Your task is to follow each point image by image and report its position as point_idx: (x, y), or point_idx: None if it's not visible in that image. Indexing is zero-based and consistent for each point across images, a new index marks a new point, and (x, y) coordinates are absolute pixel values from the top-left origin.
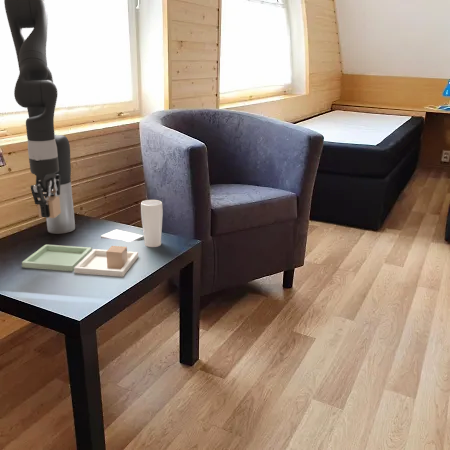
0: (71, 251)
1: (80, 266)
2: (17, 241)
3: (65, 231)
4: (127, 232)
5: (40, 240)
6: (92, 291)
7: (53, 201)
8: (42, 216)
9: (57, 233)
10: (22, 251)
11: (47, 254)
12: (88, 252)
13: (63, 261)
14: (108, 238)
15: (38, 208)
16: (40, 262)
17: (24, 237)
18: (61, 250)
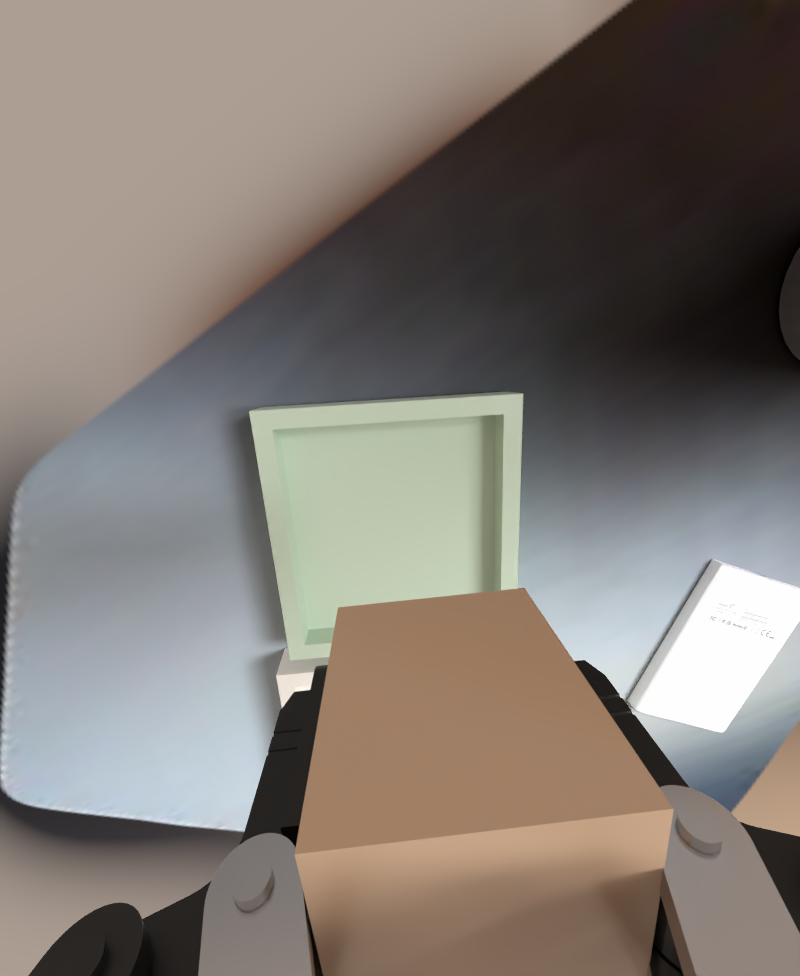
0: (494, 541)
1: (309, 681)
2: (647, 101)
3: (798, 349)
4: (765, 659)
5: (670, 256)
6: (190, 754)
7: None
8: (318, 672)
9: (780, 305)
10: (492, 247)
11: (441, 442)
12: None
13: (377, 561)
14: (692, 609)
15: (323, 701)
16: (281, 507)
17: (720, 106)
18: (495, 491)
